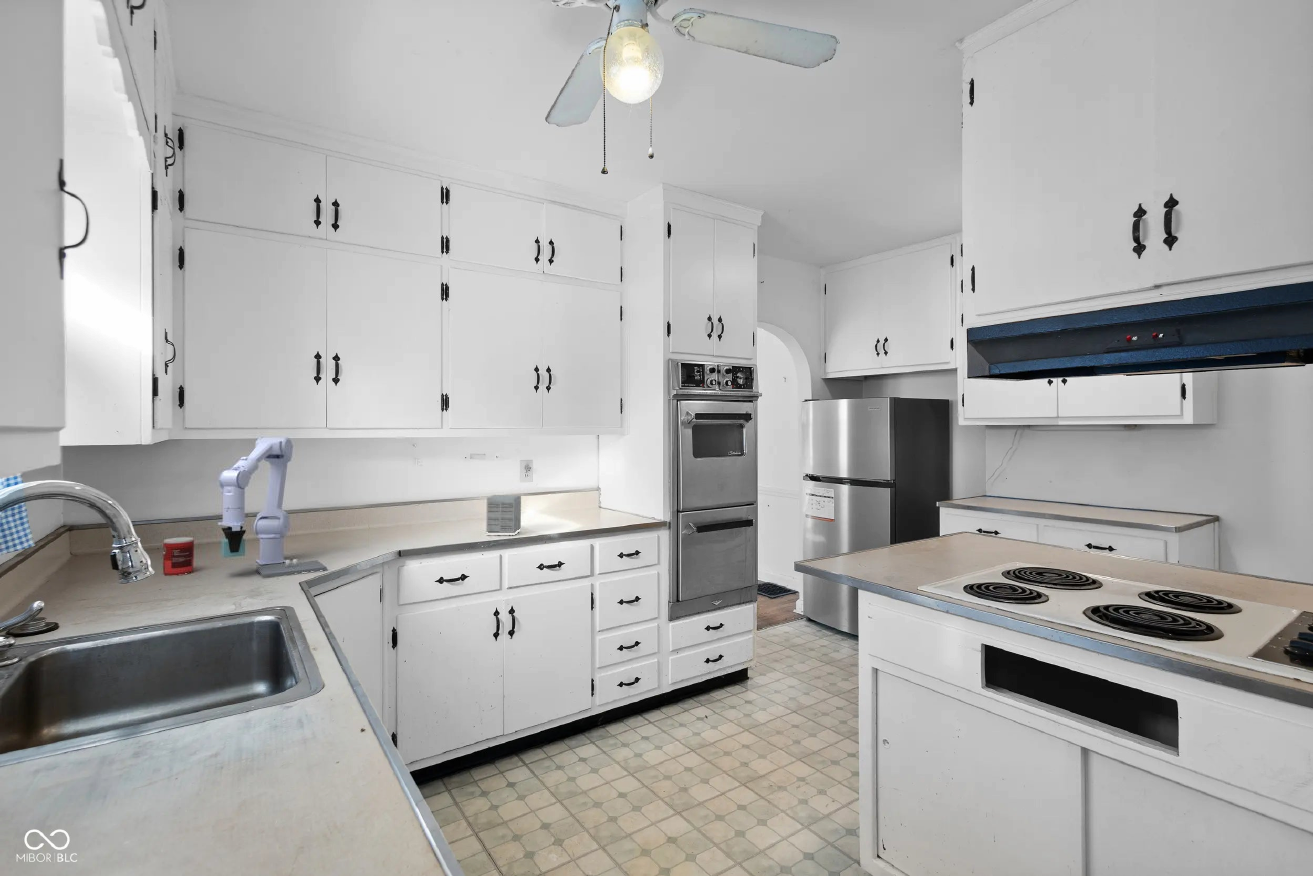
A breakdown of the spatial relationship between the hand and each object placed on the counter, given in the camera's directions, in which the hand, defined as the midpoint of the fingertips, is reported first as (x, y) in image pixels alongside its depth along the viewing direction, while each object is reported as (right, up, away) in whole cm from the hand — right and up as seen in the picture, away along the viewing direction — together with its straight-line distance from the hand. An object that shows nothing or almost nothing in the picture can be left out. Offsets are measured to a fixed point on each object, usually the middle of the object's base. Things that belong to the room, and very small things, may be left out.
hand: (233, 550), depth 194 cm
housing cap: (0, -1, 0) cm, 1 cm away
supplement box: (+63, -9, +91) cm, 111 cm away
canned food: (-20, -8, +4) cm, 22 cm away
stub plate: (+13, -8, +9) cm, 18 cm away
